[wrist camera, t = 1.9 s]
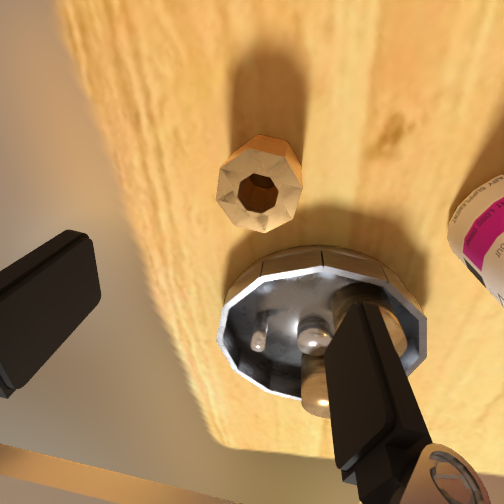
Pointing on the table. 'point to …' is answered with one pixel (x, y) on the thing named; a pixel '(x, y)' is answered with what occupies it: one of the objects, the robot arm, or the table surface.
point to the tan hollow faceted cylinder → (257, 198)
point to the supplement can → (482, 235)
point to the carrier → (311, 318)
